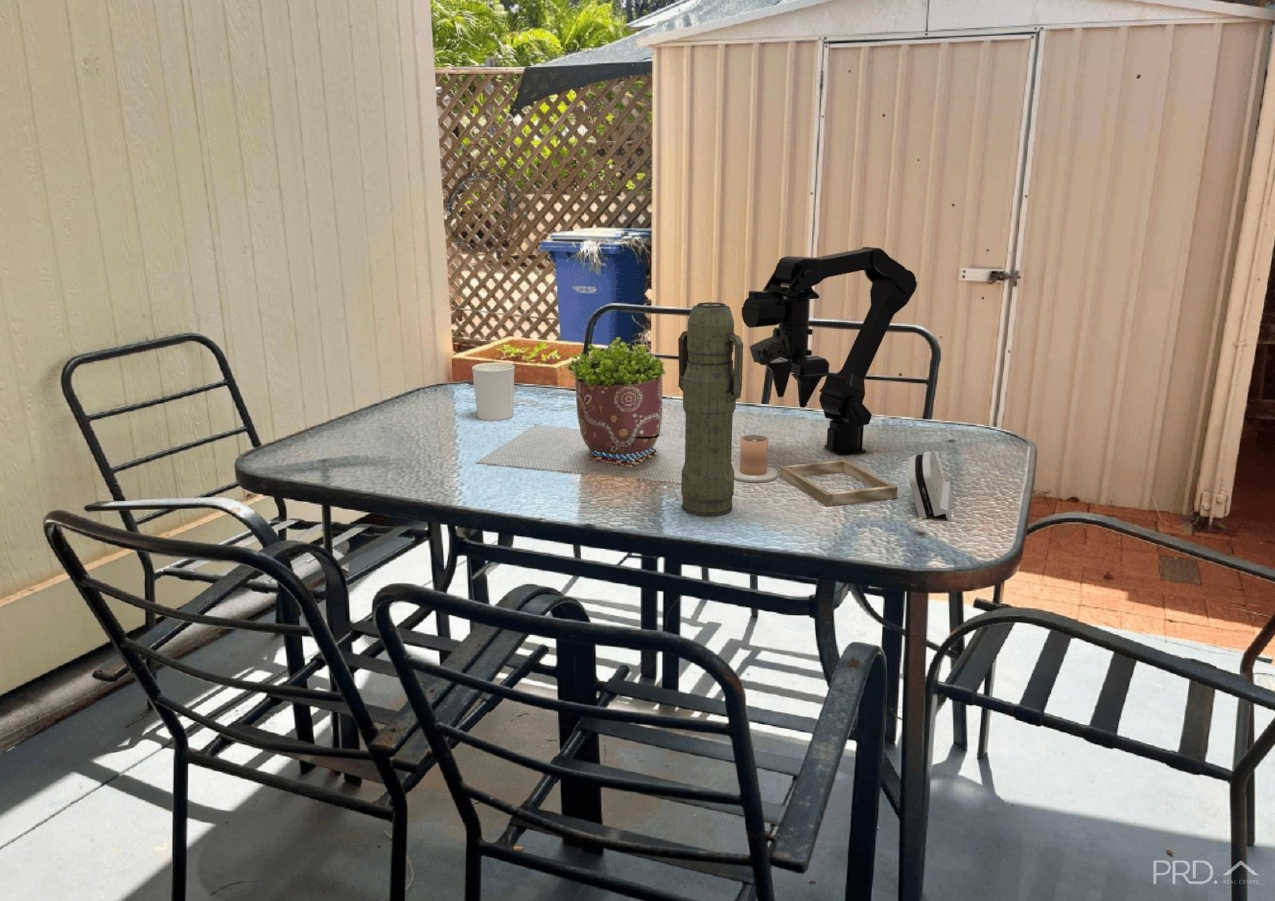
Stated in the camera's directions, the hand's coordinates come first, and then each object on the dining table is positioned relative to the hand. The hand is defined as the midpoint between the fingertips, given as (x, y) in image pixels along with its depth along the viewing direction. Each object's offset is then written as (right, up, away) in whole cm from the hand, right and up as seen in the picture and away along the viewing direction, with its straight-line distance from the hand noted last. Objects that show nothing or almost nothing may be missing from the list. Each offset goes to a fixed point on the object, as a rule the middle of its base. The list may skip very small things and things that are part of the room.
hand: (791, 402), depth 196 cm
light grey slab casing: (+20, -19, -23) cm, 36 cm away
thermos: (-18, -20, -25) cm, 37 cm away
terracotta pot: (-8, -14, -7) cm, 18 cm away
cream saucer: (-8, -14, -7) cm, 18 cm away
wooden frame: (+6, -16, -14) cm, 22 cm away
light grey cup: (-64, -2, +38) cm, 74 cm away
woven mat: (-33, -12, +5) cm, 35 cm away
